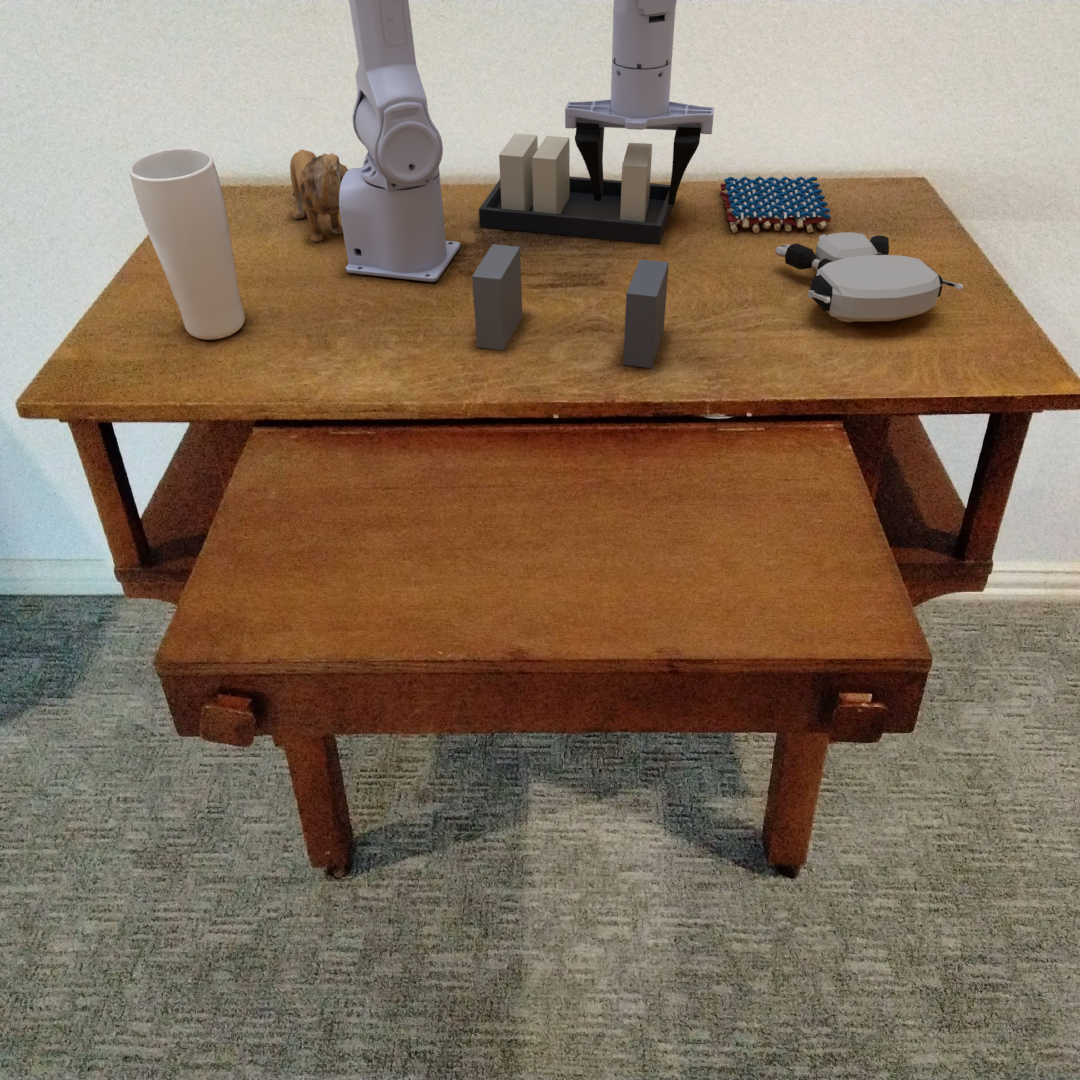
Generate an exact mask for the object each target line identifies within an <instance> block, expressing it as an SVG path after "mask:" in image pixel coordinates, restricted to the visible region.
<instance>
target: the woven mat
mask: <svg viewBox="0 0 1080 1080" xmlns="http://www.w3.org/2000/svg"><path fill="white" fill-rule="evenodd" d="M817 180H818V177H816V176H811V177H807V176H805V177H803V176H802V175H798V177H792V178H790V177H788V176H786V175H784V176H783V177H781V176H779V177H777V178H776V177H774V176H769V177H767V176H766V177H765V176H764V177H762V176H760V175H758V176H757V177H754V176H753V177H752V178H749V177H747V176H746V175H745V176H742V177H740V176H738V177H736V178H735V177H734V176H728V177H727V178H726V177H725V178H724V179H723V181H724V183H720V190H721V191H720V193H719V195H720V196H722V197H721V199H722V200H721V201H722V202H723V203H724V206H725V210H726V211H725V212H724V215H725V216H727V217H726V220H727V222H729V227H730V230H731V231H732V234H735V233H737V232H738V231H739V229H738V226H737V225H740V226H741V227H742V228H743V229H748V228H750V227H751V229H752V232H753V233H754V234H758V233H759V232H760V225H759V224H761V225H762V228H763V229H764V230H768V229H770V228H771V226H772V224H773V229H774V231H775V232H776V231H777V232H779V231H780V229H781V227H782V226H781V225H783V228H784V231H786V232H791V231H792V226H793V227H795V228H797V229H803V228H804V226H805V228H806V231H807V233H808V234H809V233H813V232H814V228H813V224H816V227H817V228H818V229H820V230H823V229H825V228H826V227H827V223H831V219H832V218H831V214H830V213H831V209H830V208H828V207H827V206H828V204H829V203H828V201H823V200H825V198H826V196H825V195H822V192H823V189H821V188H820V185H821V184H820V183H819V182H817Z"/></svg>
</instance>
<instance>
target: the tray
mask: <svg viewBox="0 0 1080 1080" xmlns="http://www.w3.org/2000/svg"><path fill="white" fill-rule="evenodd" d="M603 182H604V183H603V195H602V198H601V201H594V193H593V188H592V183H591V179H590V177H584V176H583V177H582V176H581V177H580V176H570V196H569V199H568V201H567V203H566V204H565V206H564V208H563V210H562V212H561V213H560V214H553V213H543V212H534V208H533V205H532V206H531V208H530V209H529V211H521V210H510V209H502V205H501V184H500V179H498V181H497V183H496V184H495V185H494V186H493V189H492V190H491V191H490V193H489V194H488V195H487V197H486V198H485V200H484V201H483V202H482V203H481V205H480V207H479V208H478V217H479V227H480V228H486V229H487V228H488V229H496V230H506V231H518V232H528V233H538V234H549V235H558V236H559V235H560V236H569V237H579V238H590V239H599V240H609V241H621V242H629V243H630V242H631V243H640V244H649V245H650V244H652V245H661V242H662V240H663V236H664V234H665V232H666V228H667V226H668V223H669V221H670V218H671V215H672V213H673V210H674V207H675V205H668V196H669V190H670V184H664V183H651V182H650V193H649V206H648V211H647V215H646V220H645V222H639V221H628V220H620V212H621V186H622V180H617V179H606V178H605V179H604V178H603Z"/></svg>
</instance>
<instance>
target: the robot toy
mask: <svg viewBox="0 0 1080 1080" xmlns="http://www.w3.org/2000/svg"><path fill="white" fill-rule="evenodd" d="M774 253H775V255H776V256H777V257H779V258H784V261H785V262H784V264H786V265H788V266H790V267H793V268H795V269H797V270H806V269H811V268H813V270H814V271H815V272H816V274H815V275H816V276H814V277H812V278H811V282H810V289H809V290H807V298H810V299H812V300H813V301H814V302H815V303H816V304H817V306H819V308H820V309H822V311H825V312H827V314H828V315H829V316H830V317H832V318H835V319H836V320H838V321H840V322H843V323H854V322H892V321H898V320H902V319H907V318H911V317H915V316H918V315H922V314H924V313H926V312H929V310H931V309H933V308H934V307H935V306H936V305H937V302H938V298H939V297H941V295H942V290H943V287H944V285H945V286H949V287H952V288H955V289H957V290H962V289H964V285H963V284H962V283H956V282H953V281H948V280H945V279H944V277H942V276H941V275H940V274H939V273H937V272H936V271H935V270H934V269H932V267H930V266H929V265H928V264H926V263H925V262H923V261H922V260H921V259H920V258H916V257H911V256H906V255H897V254H890V238H889V237H887V236H885V235H872V236H870V238H868V237H867V236H866V235H865V234H864V233H860V232H854V231H853V232H852V231H849V232H846V231H845V232H841V231H840V232H837V233H836V232H835V233H829V234H828V235H826V233H823V234H821V235H819V236H818V241H817V242H816V247H815V251H814V250H813V249H812V248H810V247H808V246H805V245H803V244H801V243H797V242H796V243H792V244H787V243H786V244H782V245H779V246H776V248H775V250H774Z"/></svg>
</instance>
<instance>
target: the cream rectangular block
mask: <svg viewBox="0 0 1080 1080" xmlns="http://www.w3.org/2000/svg"><path fill="white" fill-rule="evenodd" d="M652 155H653V144H652V143H645V142H628V143H627V146H626V150H625V153H624V158H623V161H622V165H621V167H622V168H621V181H622V186H621V212H620V220H628V221H639V222H645V220H646V215H647V211H648V206H649V193H650V183H651V174H652V173H651V172H652V160H653V159H652V158H653V157H652Z"/></svg>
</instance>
